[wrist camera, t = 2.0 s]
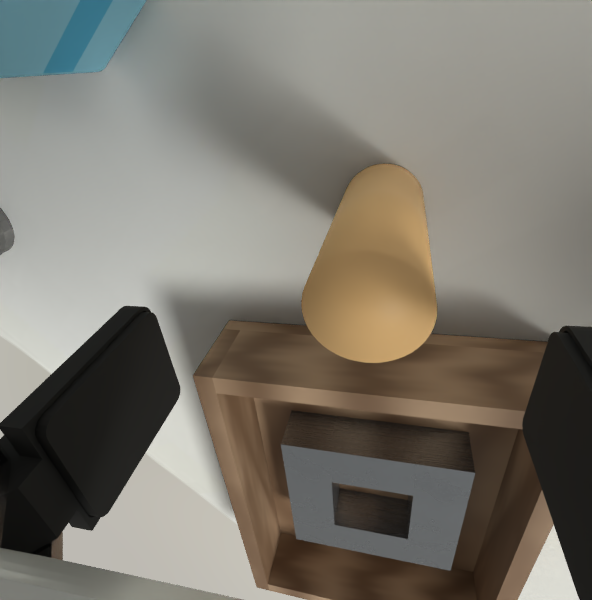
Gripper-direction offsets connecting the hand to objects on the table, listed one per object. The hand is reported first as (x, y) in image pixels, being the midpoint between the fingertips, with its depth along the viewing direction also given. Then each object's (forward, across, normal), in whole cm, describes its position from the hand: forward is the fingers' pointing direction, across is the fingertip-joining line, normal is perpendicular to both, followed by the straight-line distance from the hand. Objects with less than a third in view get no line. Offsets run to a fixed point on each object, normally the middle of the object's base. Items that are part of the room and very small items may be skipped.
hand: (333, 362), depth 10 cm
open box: (+12, -1, +21) cm, 25 cm away
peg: (+12, -1, 0) cm, 13 cm away
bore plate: (+12, -1, +21) cm, 25 cm away
